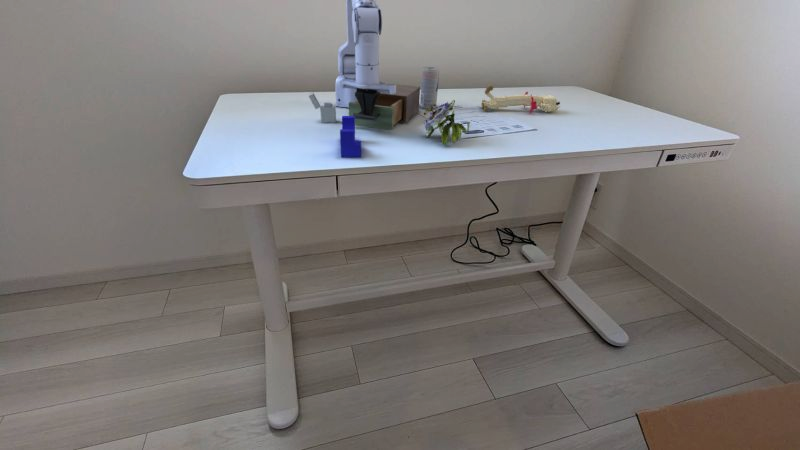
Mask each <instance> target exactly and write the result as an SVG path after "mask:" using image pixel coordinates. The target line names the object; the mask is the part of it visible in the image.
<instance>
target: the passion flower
mask: <svg viewBox="0 0 800 450" xmlns="http://www.w3.org/2000/svg"><path fill="white" fill-rule="evenodd" d="M455 104H456V100H455V99H452V100H451V101H450V102H445V103H442V104H440V105H438V106H436V107H435V110H434V109H433V107H434V105H435V103H433V104H431V105H430V106H428V108H427V109H425V110H424V112H423V115H424V116H426V115H427V114H428V113H430V114H429V116H428V117H427V119H425V125H424V127H425V130H426V131H427V132H426V135H425V137H426V138H430V137H431V136H432V134H433V133H434V132H435V130H436V129H438V130H439V132H440V134H441V144H442V145H443V146H444V147H447V146H448V141H449V139H450V134H451V144H454V143H456V142H457V141H459V140H460V138H461V137H462V133H463V132H464V133H467V132H469V131H470V124H471V122H470V121H468V122H463V123H459V122H455V121H456V120H455V114H456V113H455V110H454V106H455ZM464 125H466V127H465V126H464Z"/></svg>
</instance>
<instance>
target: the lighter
mask: <svg viewBox="0 0 800 450" xmlns="http://www.w3.org/2000/svg"><path fill="white" fill-rule="evenodd" d="M307 97H308V98H309V100H310V101H311V103H312V105H313V107H314V109H315V110H317V109H319V110H320V123H322V124H323V123H324V124H325V123H326V124H330V123H332V124H333V123H334V124H336V123H337V111H336V106H335V105H334V104H333V103H332V102H323V105H321V104H320V103H319V100H318V98H317V97H316V95H315V93H314V92H313V91H311V92H310V93H308V95H307Z"/></svg>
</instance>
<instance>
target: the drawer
mask: <svg viewBox="0 0 800 450" xmlns="http://www.w3.org/2000/svg"><path fill="white" fill-rule="evenodd" d="M403 113H404V99H400V98H391V97H383V96H378V98H377V101H376V103H375V106H374V109H373V113H372V115H365V114H363V113H362V110H361V107H360V104H359V102H358V100H357V101H355V102H349V108H348V116H355V126H360V127H367V128H374V129H379V130H380V129H381V130H387V131H393V130H394V126H395V125H396V124H397V123H398V121H399V120H401V119H402V118H403Z"/></svg>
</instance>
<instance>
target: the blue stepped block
mask: <svg viewBox="0 0 800 450" xmlns="http://www.w3.org/2000/svg"><path fill="white" fill-rule="evenodd" d="M339 141H340V142H339V143H340V158H362V140H356V125H355V116H349V115H341V129H339Z"/></svg>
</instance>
